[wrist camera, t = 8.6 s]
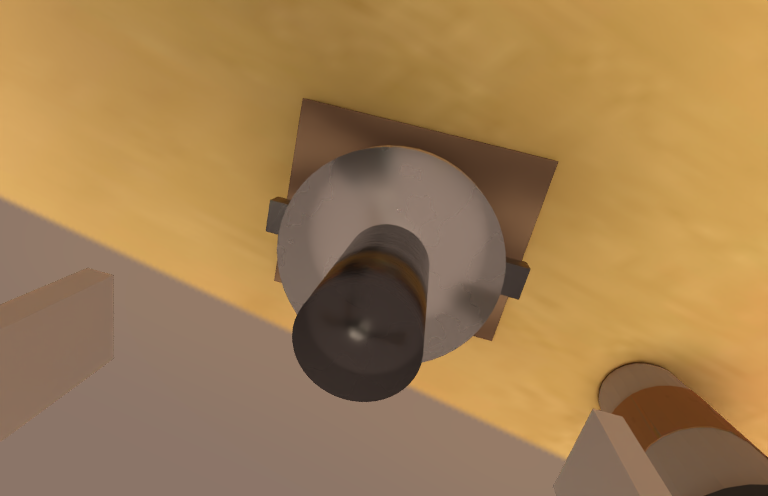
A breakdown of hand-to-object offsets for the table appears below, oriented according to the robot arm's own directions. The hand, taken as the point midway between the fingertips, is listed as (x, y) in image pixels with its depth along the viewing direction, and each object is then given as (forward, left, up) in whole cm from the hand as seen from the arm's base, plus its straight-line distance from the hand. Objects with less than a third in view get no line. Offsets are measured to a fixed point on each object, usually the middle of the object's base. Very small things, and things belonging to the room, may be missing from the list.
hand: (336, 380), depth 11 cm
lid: (0, 0, -12) cm, 12 cm away
